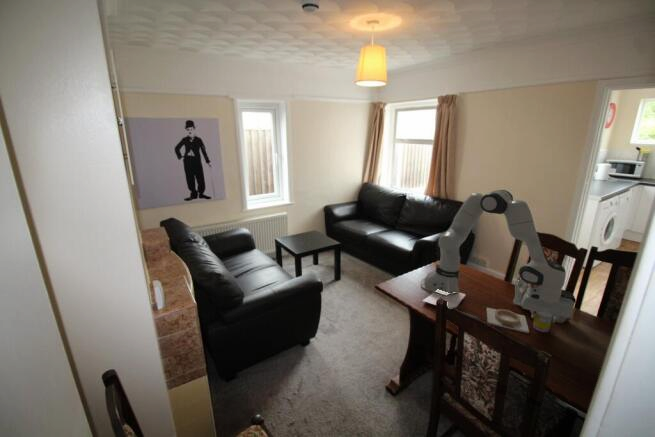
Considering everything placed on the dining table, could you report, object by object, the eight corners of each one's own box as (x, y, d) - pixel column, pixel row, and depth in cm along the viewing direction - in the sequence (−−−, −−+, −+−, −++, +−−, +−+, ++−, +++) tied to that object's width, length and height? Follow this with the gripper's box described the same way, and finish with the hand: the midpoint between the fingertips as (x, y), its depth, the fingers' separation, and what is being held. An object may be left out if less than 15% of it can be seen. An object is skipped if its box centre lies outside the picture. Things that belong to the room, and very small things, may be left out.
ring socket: (487, 323, 154) (488, 318, 153) (486, 309, 166) (487, 304, 165) (528, 333, 146) (529, 328, 145) (524, 317, 158) (525, 312, 157)
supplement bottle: (533, 322, 154) (538, 300, 150) (549, 327, 150) (554, 305, 146) (531, 329, 149) (537, 306, 145) (548, 334, 145) (553, 311, 141)
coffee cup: (538, 314, 160) (544, 290, 156) (552, 310, 164) (558, 286, 160) (560, 327, 150) (567, 301, 146) (575, 322, 154) (582, 297, 150)
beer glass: (528, 307, 167) (533, 283, 162) (514, 306, 168) (519, 282, 164) (523, 300, 173) (528, 277, 169) (510, 299, 175) (514, 276, 170)
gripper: (573, 296, 143) (566, 321, 147) (523, 287, 151) (518, 311, 155) (577, 303, 137) (570, 329, 141) (525, 293, 145) (519, 317, 150)
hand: (542, 319), depth 148 cm, fingers closed on supplement bottle, 7 cm apart
